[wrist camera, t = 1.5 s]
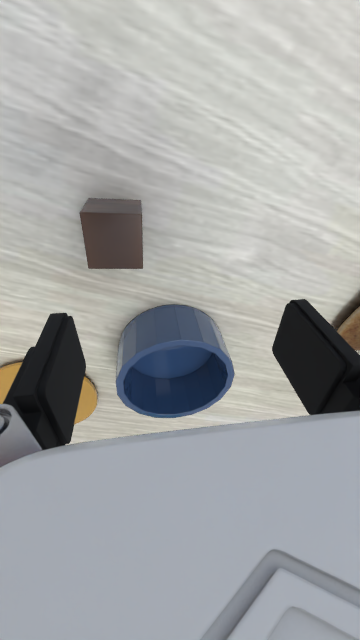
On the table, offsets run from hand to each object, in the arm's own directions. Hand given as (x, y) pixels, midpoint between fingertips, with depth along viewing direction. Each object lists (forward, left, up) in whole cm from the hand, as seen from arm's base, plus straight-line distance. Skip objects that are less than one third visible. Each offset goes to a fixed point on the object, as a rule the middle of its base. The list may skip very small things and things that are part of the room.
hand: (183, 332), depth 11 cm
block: (-3, -2, -17) cm, 17 cm away
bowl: (+8, -15, -17) cm, 24 cm away
